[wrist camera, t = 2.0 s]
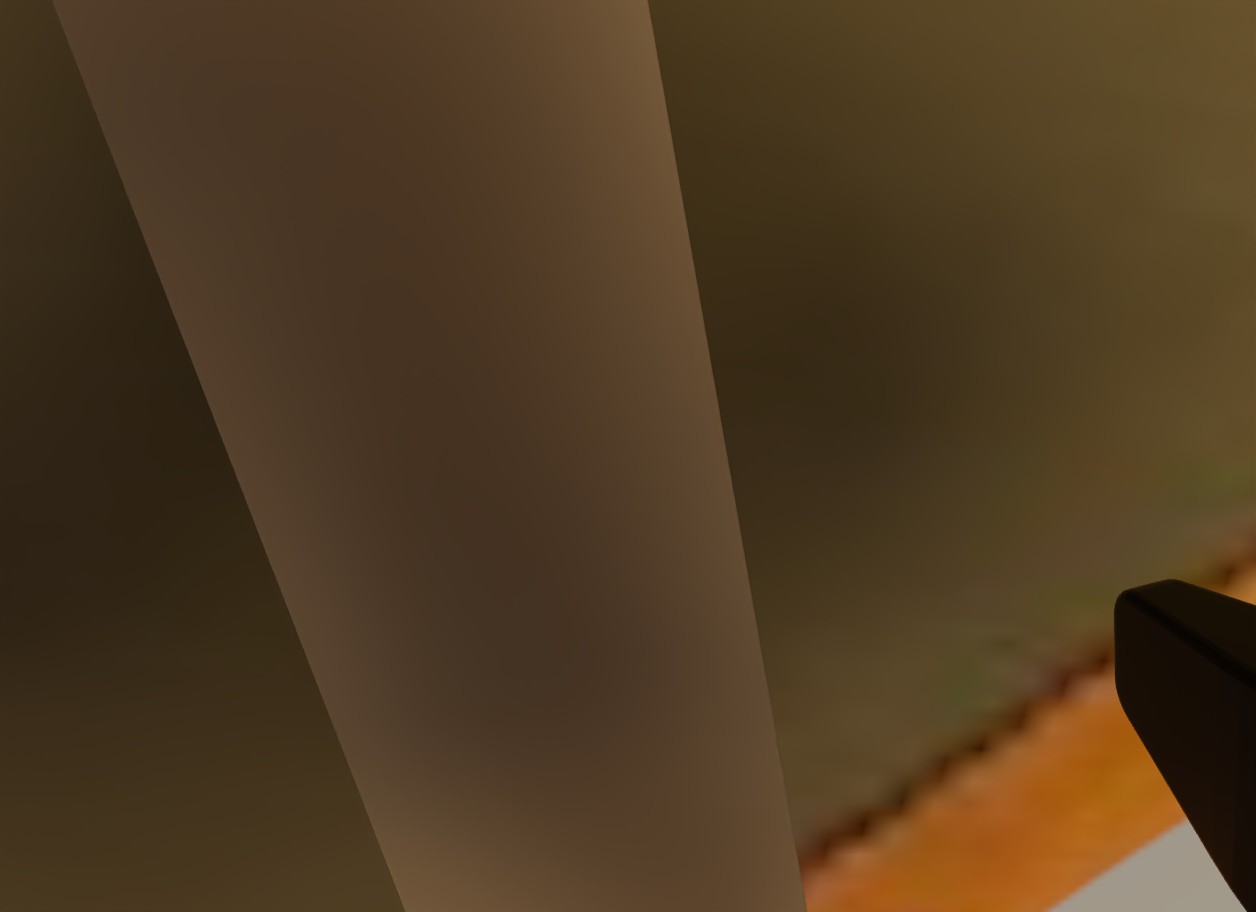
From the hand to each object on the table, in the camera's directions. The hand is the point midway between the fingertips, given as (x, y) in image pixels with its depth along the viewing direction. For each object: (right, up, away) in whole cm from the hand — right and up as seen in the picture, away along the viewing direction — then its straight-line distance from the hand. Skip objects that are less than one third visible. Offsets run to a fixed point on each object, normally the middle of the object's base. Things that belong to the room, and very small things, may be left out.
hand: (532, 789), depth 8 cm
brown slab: (-1, +3, +7) cm, 8 cm away
